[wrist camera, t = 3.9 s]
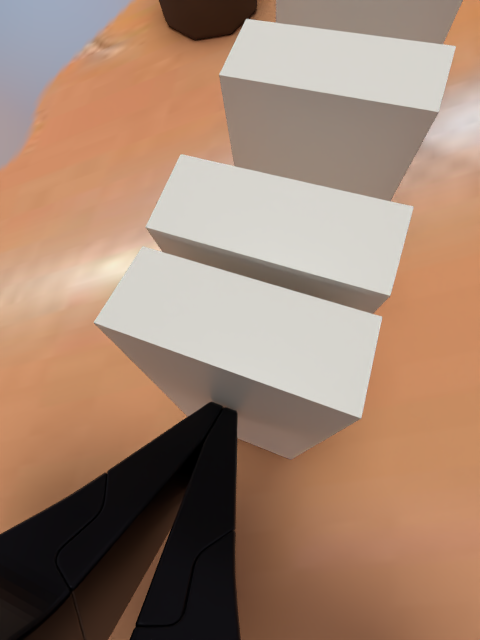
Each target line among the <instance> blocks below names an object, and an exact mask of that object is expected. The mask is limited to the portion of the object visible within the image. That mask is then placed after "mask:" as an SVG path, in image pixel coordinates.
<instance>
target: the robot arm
mask: <svg viewBox="0 0 480 640" xmlns="http://www.w3.org/2000/svg"><path fill="white" fill-rule="evenodd" d="M237 424H238V413H237V411H236V410H233V409H230V408H228V407H223V406H222V405H220V404H217V403H214V402H209V403H207V404H206V405H204V406H203V407H201V408H200V409H199V410H197V411H196V412H194V413H193V414H191V415H190V416H188V417H187V418H185V419H184V420H182V421H181V422H179V423H178V424H176V425H175V426H173V427H172V428H170V429H169V430H167V431H166V432H164V433H163V434H161V435H160V436H158V437H157V438H156V439H154V440H153V441H151V442H150V443H148V444H147V445H145V446H144V447H142V448H141V449H139V450H138V451H136V452H135V453H133V454H132V455H130V456H129V457H127V458H126V459H124V460H123V461H121V462H120V463H118V464H117V465H115V466H114V467H113V468H111V469H110V470H108V472H107V473H103V474H102V475H100V476H99V477H97V478H96V479H95V480H93V481H92V482H90V483H88V484H87V485H85V486H84V487H82V488H81V489H79V490H78V491H76V492H74V493H73V494H71V495H70V496H68V497H66V498H64V499H63V500H61V501H59V502H57V503H56V504H54V505H52V506H50V507H49V508H47V509H45V510H43V511H42V512H40V513H38V514H36V515H34V516H33V517H31V518H29V519H27V520H25V521H23V522H22V523H20V524H18V525H16V526H14V527H12V528H11V529H9V530H7V531H5V532H3V533H2V534H0V640H108V639H109V637H110V635H111V633H112V632H113V630H114V628H115V626H116V625H117V623H118V621H119V619H120V617H121V616H122V614H123V612H124V610H125V609H126V607H127V605H128V603H129V602H130V600H131V598H132V596H133V594H134V593H135V591H136V589H137V587H138V586H139V584H140V582H141V580H142V579H143V577H144V575H145V573H146V572H147V570H148V568H149V566H150V564H151V563H152V561H153V559H154V557H155V556H156V554H157V552H158V550H159V549H160V547H161V545H162V543H163V542H164V540H165V538H166V536H167V534H168V533H169V531H170V529H171V531H170V534H169V536H168V539H167V542H166V544H165V547H164V550H163V552H162V555H161V558H160V560H159V563H158V566H157V568H156V571H155V574H154V576H153V579H152V582H151V584H150V587H149V590H148V592H147V595H146V598H145V600H144V603H143V606H142V608H141V611H140V614H139V616H138V619H137V622H136V628H134V630H133V633H132V635H131V638H130V640H241V638H240V627H239V616H238V605H237V591H236V574H235V537H236V533H235V528H236V476H237ZM171 527H172V528H171Z"/></svg>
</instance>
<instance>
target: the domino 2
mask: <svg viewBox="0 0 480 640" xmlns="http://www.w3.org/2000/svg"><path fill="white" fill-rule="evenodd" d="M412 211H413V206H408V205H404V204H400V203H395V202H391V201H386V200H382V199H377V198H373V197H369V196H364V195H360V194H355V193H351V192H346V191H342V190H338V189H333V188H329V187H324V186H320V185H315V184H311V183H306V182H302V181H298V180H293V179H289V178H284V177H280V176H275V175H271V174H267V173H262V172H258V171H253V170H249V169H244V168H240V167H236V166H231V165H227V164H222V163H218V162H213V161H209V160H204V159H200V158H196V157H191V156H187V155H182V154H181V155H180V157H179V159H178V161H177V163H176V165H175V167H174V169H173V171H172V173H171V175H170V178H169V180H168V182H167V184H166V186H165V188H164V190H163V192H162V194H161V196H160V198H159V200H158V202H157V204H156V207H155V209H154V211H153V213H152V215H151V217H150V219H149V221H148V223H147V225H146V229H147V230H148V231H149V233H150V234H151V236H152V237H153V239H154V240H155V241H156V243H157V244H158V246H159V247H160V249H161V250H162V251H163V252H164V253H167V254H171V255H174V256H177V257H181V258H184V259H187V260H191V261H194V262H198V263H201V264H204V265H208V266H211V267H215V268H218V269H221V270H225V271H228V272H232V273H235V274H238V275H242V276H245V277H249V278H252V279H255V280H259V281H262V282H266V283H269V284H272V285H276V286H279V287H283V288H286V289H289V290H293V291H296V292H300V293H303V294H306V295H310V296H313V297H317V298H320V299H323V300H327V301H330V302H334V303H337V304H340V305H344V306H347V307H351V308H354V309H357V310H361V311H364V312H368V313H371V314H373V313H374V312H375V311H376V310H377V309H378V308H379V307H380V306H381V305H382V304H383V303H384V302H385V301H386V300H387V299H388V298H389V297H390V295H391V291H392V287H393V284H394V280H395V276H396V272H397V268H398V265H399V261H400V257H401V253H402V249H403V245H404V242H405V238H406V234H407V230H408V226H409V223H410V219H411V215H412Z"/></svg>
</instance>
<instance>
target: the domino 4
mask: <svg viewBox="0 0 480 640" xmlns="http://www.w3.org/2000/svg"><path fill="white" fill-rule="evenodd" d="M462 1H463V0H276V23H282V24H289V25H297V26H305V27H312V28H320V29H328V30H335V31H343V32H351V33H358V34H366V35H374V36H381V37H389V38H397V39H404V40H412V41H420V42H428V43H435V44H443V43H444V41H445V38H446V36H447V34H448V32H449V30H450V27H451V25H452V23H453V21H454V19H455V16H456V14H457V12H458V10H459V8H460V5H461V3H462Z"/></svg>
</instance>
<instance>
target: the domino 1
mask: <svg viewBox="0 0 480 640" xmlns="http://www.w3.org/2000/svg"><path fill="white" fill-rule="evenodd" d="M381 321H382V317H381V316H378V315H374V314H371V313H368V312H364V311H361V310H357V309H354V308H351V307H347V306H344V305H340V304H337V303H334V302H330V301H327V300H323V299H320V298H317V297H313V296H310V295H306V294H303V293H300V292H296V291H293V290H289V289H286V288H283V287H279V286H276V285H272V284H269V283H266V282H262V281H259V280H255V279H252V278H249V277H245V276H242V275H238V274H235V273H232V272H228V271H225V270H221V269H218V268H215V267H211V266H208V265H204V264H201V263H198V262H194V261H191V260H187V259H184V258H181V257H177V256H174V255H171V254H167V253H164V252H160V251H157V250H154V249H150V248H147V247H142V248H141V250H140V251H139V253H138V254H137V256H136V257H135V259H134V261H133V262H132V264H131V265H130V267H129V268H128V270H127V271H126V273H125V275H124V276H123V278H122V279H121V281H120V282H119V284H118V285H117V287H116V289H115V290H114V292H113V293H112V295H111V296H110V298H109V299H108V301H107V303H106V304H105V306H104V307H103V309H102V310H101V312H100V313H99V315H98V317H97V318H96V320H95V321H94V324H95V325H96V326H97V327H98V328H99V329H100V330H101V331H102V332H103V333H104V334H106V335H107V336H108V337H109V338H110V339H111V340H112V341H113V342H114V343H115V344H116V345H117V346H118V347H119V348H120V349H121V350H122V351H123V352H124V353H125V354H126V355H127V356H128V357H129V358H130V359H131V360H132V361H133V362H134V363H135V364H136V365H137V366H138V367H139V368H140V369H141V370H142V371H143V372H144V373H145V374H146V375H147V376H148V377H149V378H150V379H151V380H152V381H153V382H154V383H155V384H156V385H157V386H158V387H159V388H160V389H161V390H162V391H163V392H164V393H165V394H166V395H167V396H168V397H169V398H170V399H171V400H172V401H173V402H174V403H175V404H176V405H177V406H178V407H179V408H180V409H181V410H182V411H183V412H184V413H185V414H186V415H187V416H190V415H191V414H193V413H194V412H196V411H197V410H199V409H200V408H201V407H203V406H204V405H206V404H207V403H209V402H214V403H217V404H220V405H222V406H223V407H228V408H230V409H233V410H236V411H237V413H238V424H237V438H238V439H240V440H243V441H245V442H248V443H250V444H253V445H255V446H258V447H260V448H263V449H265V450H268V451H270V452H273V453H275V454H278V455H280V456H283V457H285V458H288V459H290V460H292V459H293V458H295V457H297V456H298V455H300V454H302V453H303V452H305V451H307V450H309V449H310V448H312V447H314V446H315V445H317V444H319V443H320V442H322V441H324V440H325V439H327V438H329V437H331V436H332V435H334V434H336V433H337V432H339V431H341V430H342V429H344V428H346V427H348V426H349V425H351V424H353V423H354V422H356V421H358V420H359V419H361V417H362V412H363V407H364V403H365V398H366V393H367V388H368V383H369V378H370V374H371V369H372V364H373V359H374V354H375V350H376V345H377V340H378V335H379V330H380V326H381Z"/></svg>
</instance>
